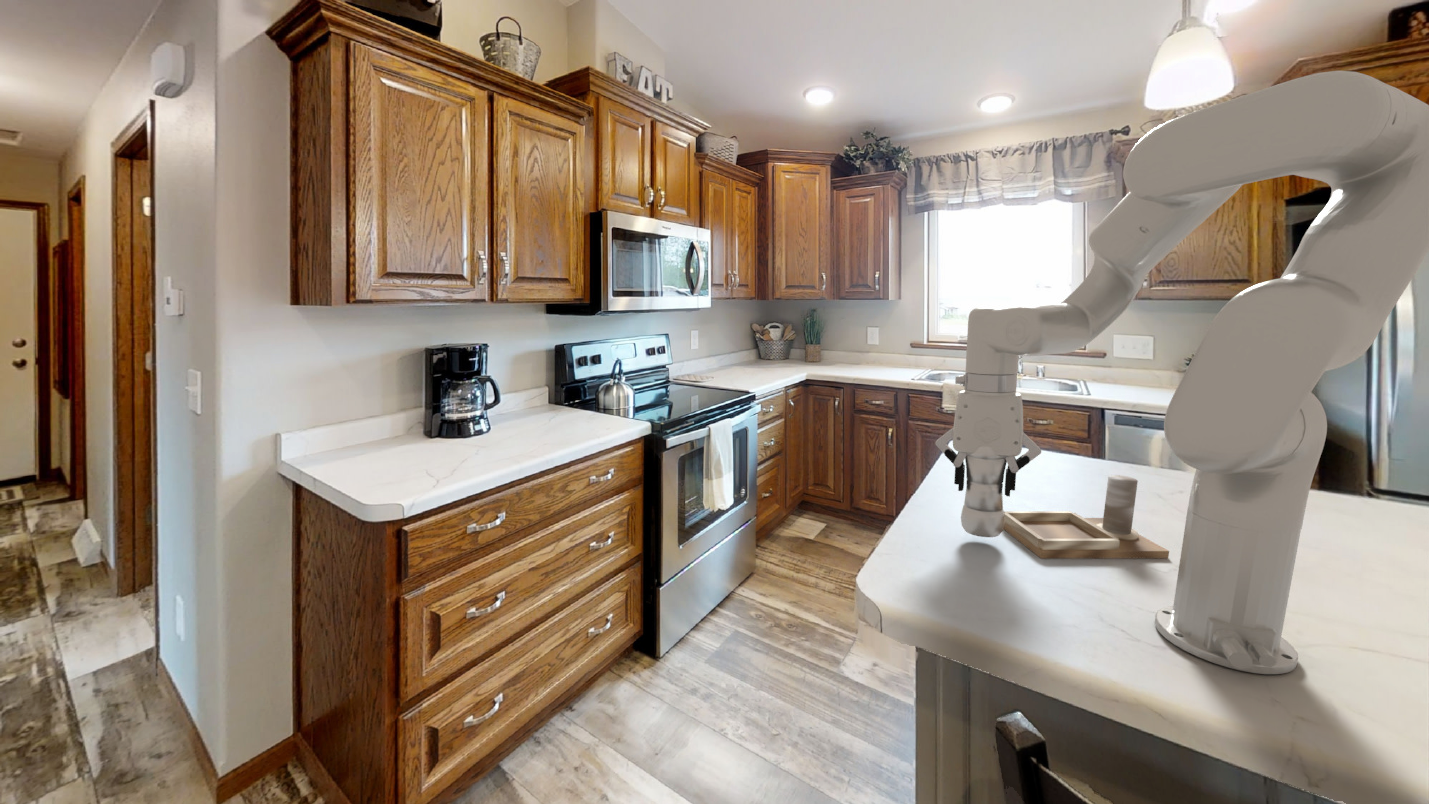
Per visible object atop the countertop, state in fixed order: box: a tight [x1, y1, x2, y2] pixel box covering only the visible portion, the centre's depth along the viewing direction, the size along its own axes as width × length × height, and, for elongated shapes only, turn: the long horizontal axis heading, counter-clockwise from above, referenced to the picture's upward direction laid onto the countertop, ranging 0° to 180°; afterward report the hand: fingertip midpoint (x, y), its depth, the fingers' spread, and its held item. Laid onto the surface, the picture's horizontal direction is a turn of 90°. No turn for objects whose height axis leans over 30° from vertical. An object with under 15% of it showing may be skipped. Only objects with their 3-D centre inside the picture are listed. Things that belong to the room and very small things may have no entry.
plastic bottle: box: [960, 446, 1008, 538], centre depth 94 cm, size 6×7×20 cm
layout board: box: [1003, 474, 1170, 560], centre depth 95 cm, size 20×14×11 cm
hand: (983, 490), depth 94 cm, fingers closed on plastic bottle, 6 cm apart
